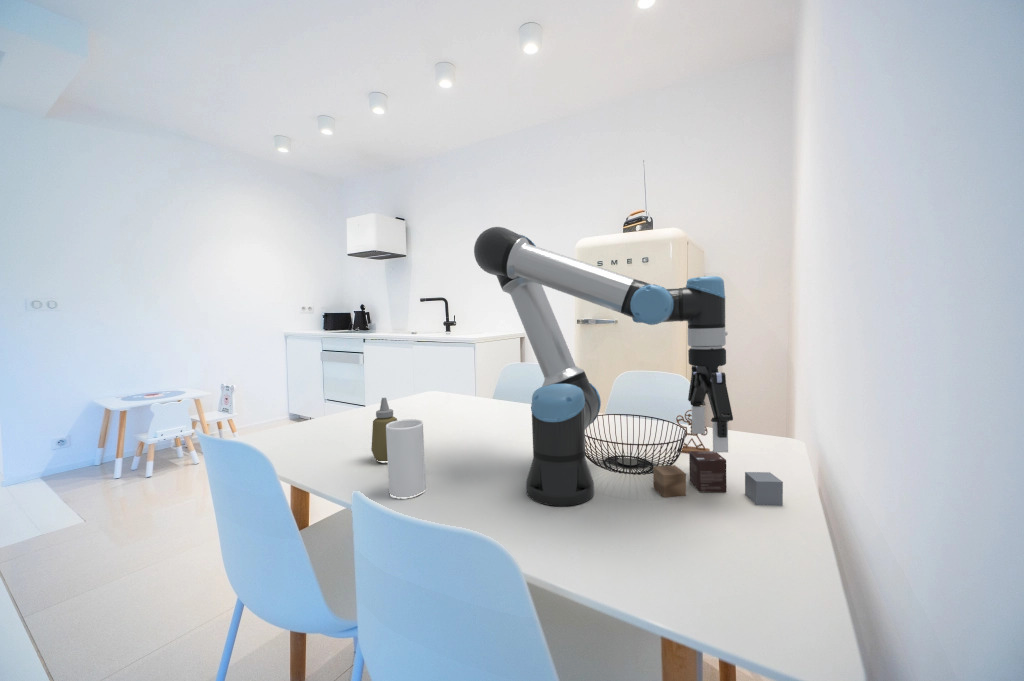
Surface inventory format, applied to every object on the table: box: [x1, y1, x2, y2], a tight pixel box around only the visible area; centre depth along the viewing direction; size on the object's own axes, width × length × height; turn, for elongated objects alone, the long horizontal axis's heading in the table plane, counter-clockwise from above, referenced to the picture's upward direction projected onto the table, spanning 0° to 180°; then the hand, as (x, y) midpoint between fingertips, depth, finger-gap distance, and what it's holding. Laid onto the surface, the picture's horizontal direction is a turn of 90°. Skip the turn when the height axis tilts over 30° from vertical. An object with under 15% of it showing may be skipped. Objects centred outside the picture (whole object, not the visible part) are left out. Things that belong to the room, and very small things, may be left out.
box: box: [688, 450, 728, 493], centre depth 91 cm, size 6×6×7 cm
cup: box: [386, 418, 427, 497], centre depth 93 cm, size 8×8×16 cm
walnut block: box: [652, 464, 687, 498], centre depth 89 cm, size 5×5×5 cm
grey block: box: [744, 471, 784, 507], centre depth 84 cm, size 5×5×5 cm
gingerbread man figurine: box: [675, 409, 711, 455], centre depth 114 cm, size 9×4×12 cm, turn 61°
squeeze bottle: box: [371, 397, 398, 461], centre depth 115 cm, size 8×8×18 cm
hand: (708, 442), depth 90 cm, fingers open, 13 cm apart
